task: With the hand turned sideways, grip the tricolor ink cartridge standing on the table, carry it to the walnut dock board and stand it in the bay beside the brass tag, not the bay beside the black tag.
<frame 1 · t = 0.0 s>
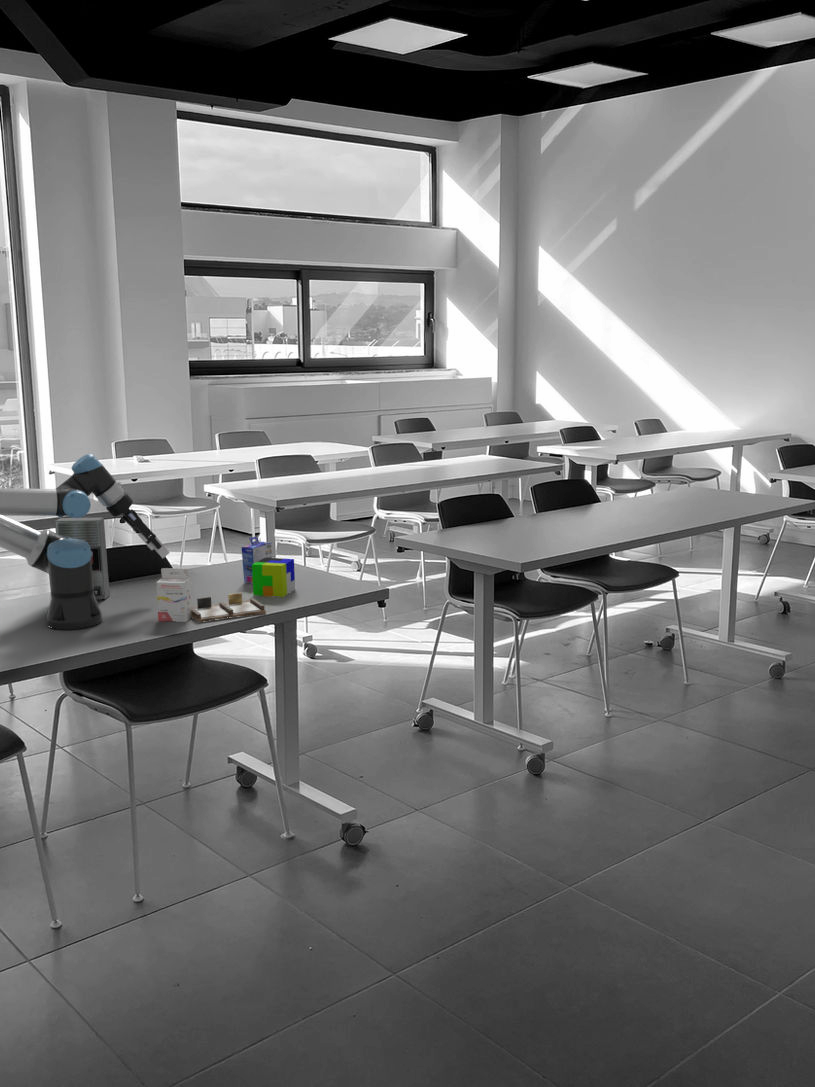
hand: (160, 551, 323), 15 cm above the table, tool tilted 35°, fingers open, 13 cm apart
ink cartridge box: (258, 581, 350), on the table
puzzle toy: (274, 593, 334), on the table
ink cartridge box 2: (175, 620, 304), on the table
tag dock board: (225, 612, 310), on the table
tall grey box: (85, 598, 330), on the table
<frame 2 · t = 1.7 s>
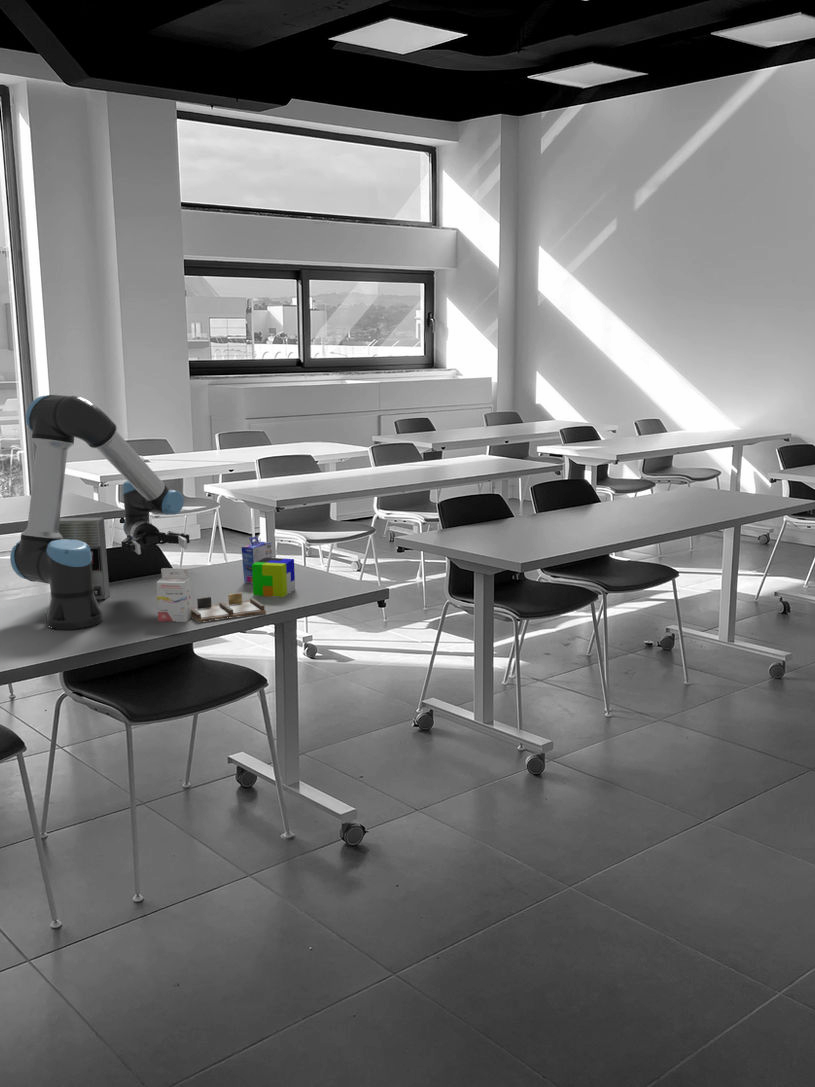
hand: (162, 546, 308), 20 cm above the table, tool horizontal, fingers open, 13 cm apart
nothing on the table moved.
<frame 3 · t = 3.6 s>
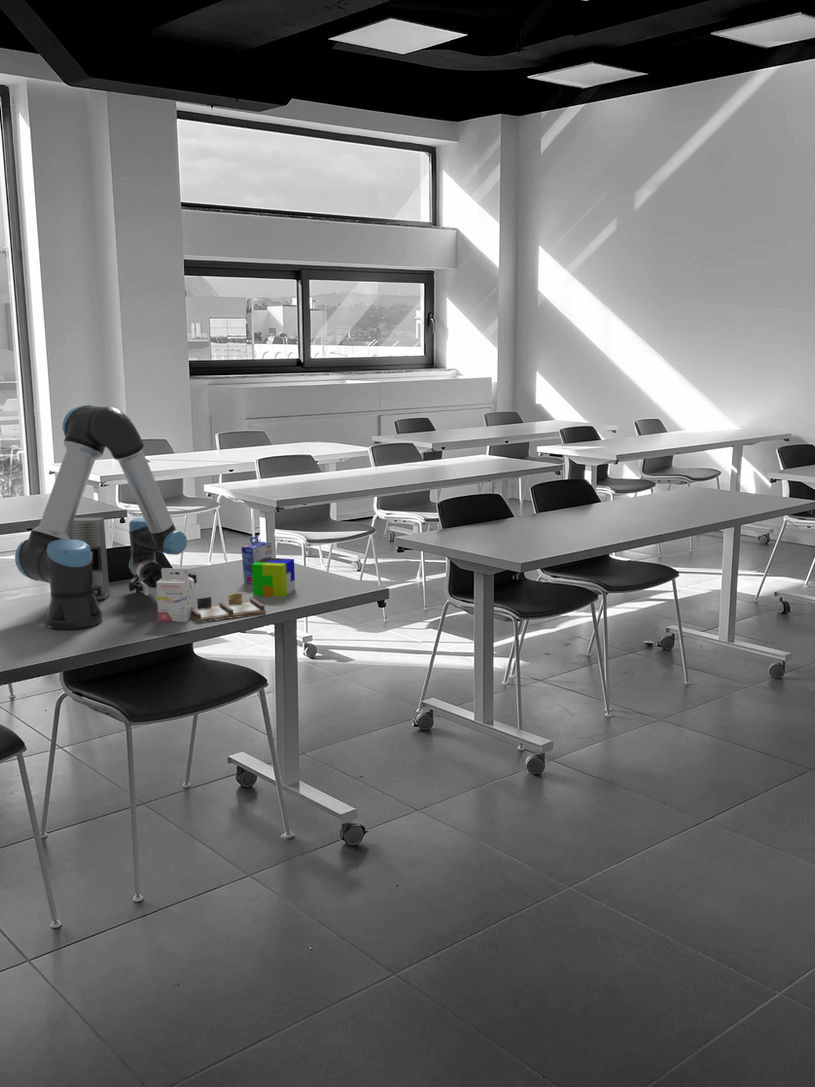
hand: (170, 587, 308), 8 cm above the table, tool horizontal, fingers open, 13 cm apart
nothing on the table moved.
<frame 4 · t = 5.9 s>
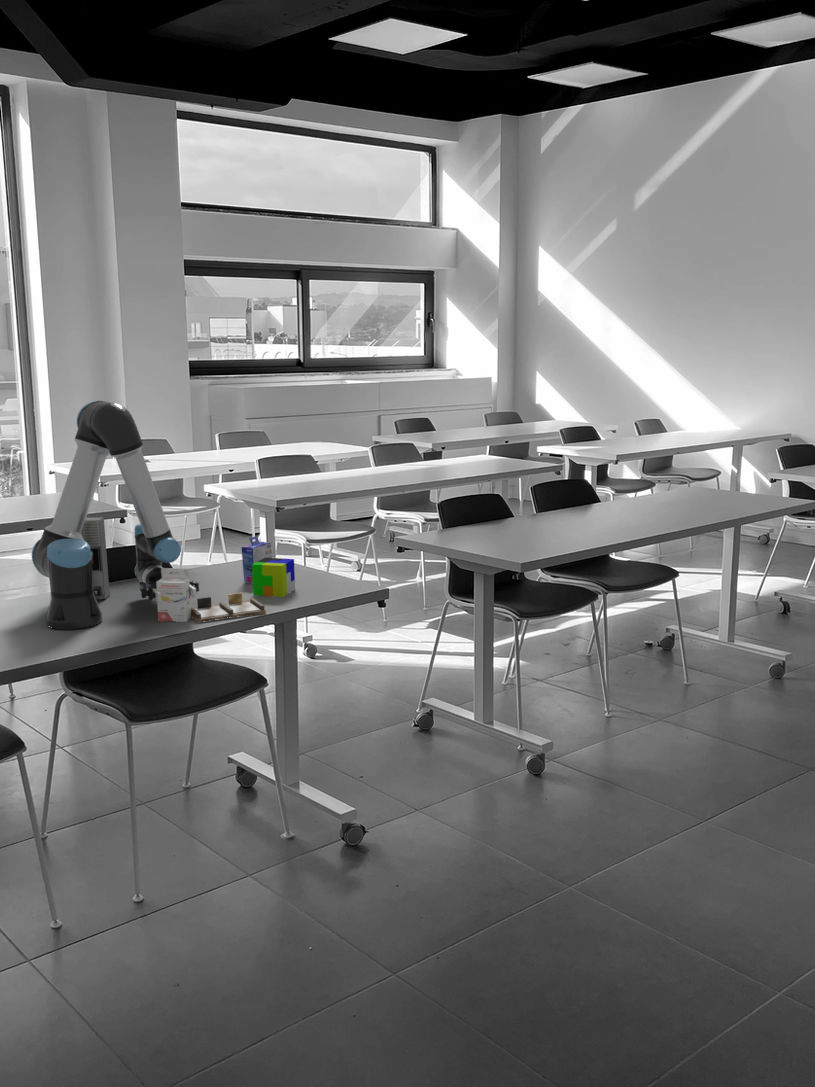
hand: (177, 595, 298), 8 cm above the table, tool horizontal, fingers closed on ink cartridge box 2, 9 cm apart
ink cartridge box 2: (175, 620, 304), on the table, touching gripper
everything else where it was.
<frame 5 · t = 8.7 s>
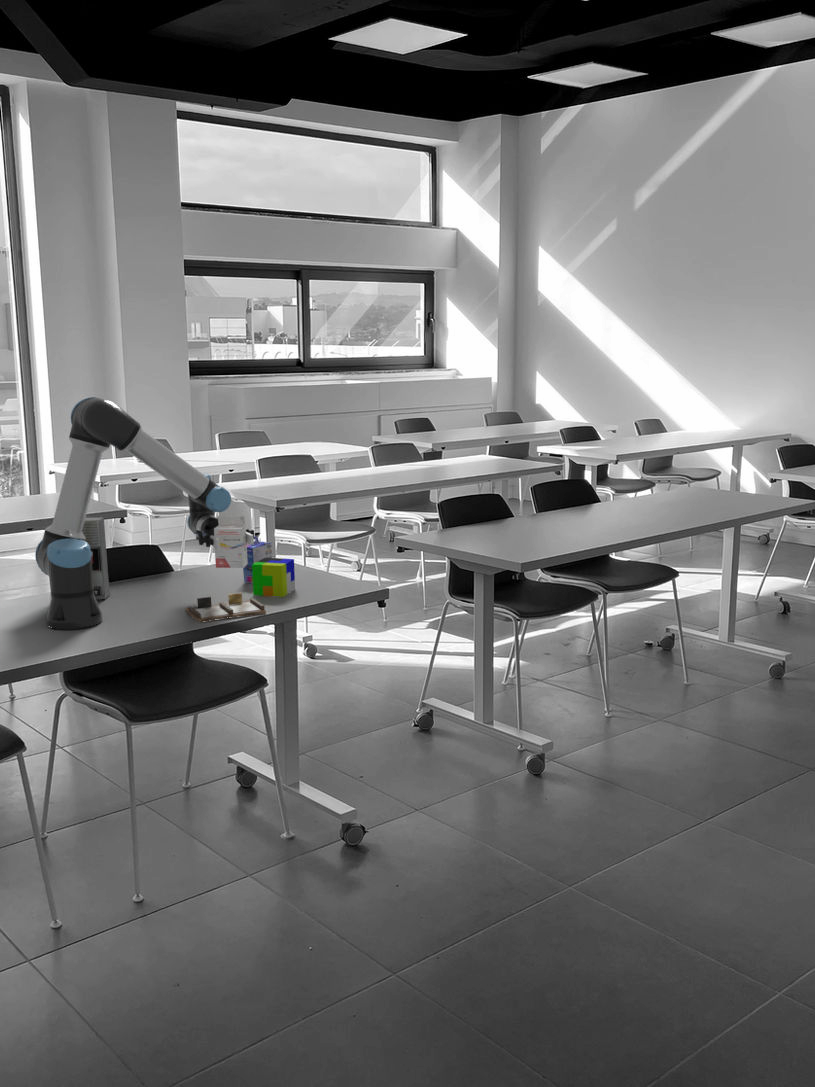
hand: (235, 541, 303), 22 cm above the table, tool horizontal, fingers closed on ink cartridge box 2, 9 cm apart
ink cartridge box 2: (231, 566, 308), point 14 cm above the table, touching gripper
everything else where it was.
when the fingers open (10 cm above the table, at t = 11.5 s): ink cartridge box 2 stays where it is, resting on tag dock board.
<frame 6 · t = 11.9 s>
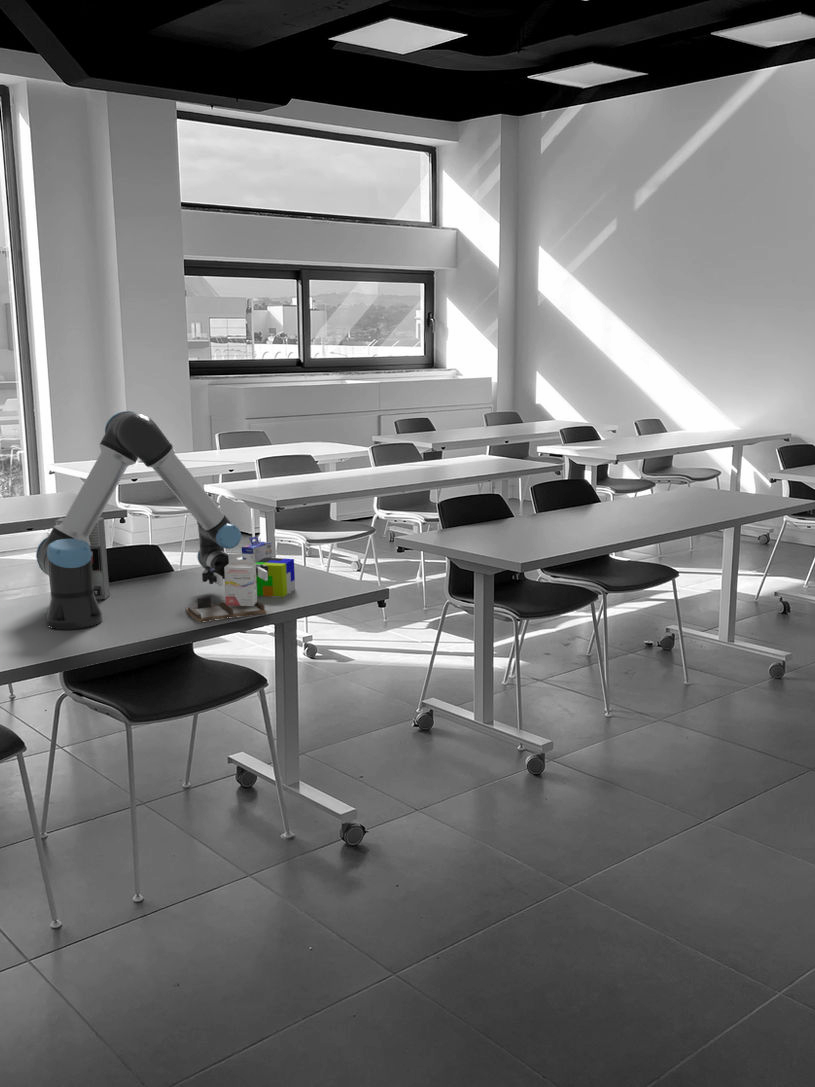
hand: (244, 578, 307), 10 cm above the table, tool horizontal, fingers open, 13 cm apart
ink cartridge box 2: (241, 604, 311), point 2 cm above the table, touching tag dock board
everything else where it was.
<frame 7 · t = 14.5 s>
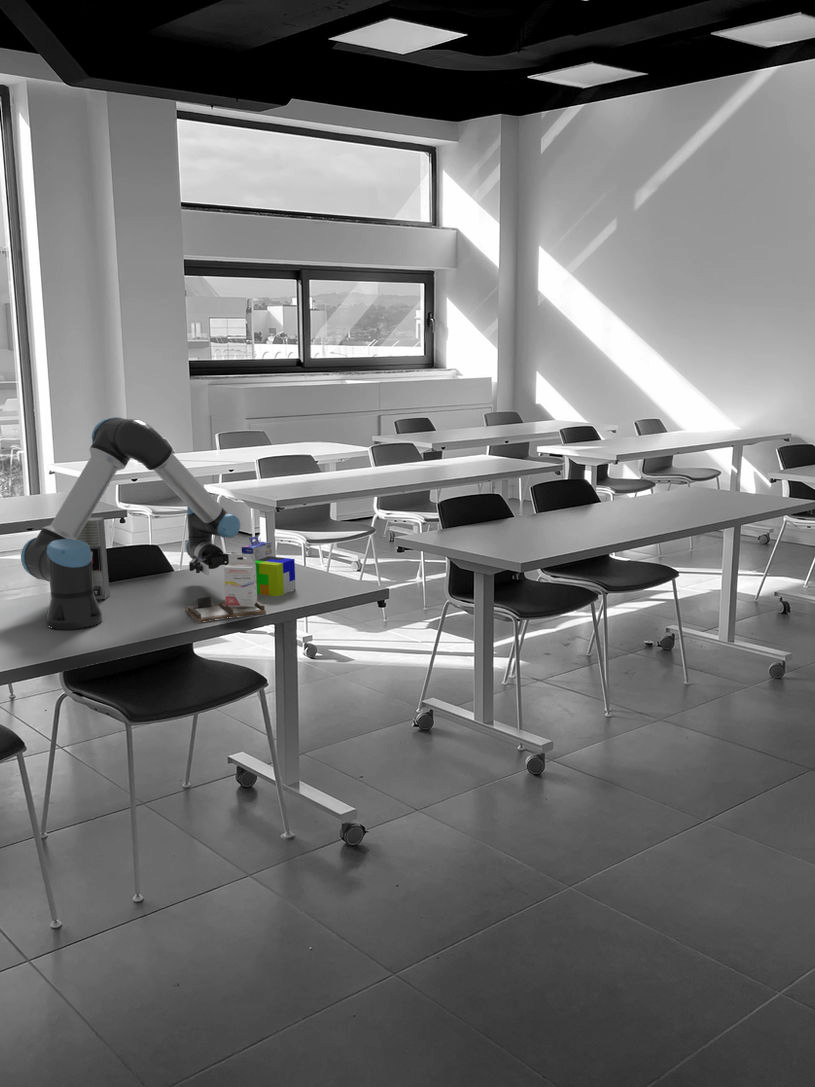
hand: (229, 568, 318), 11 cm above the table, tool horizontal, fingers open, 13 cm apart
puzzle toy: (273, 592, 335), on the table
everything else where it was.
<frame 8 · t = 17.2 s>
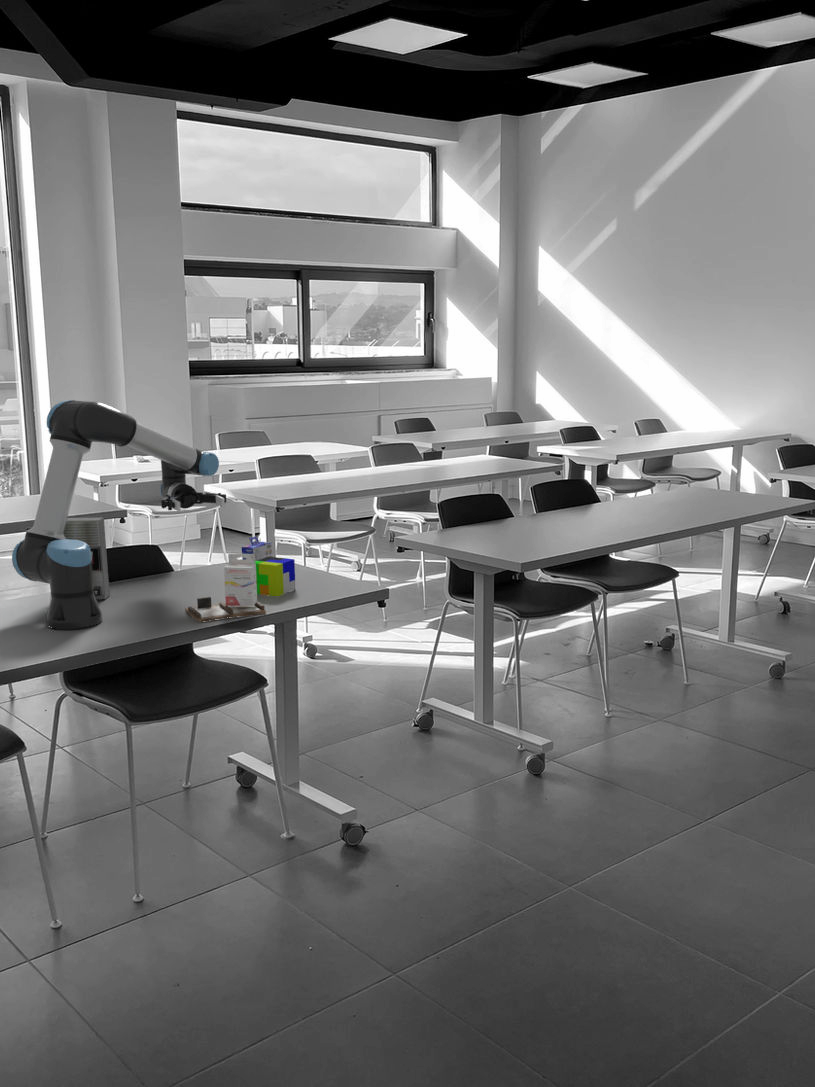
hand: (201, 504, 318), 30 cm above the table, tool horizontal, fingers open, 13 cm apart
nothing on the table moved.
at the end: ink cartridge box 2 0.0 cm from the target spot on the tag dock board, point 2.0 cm above the tag dock board's base; ink cartridge box 2 tilted 0°; the gripper is holding nothing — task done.
